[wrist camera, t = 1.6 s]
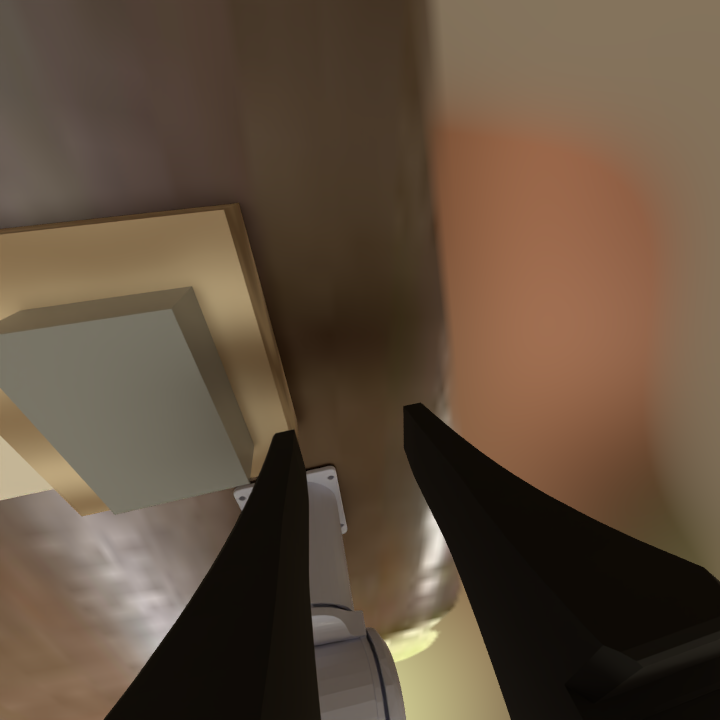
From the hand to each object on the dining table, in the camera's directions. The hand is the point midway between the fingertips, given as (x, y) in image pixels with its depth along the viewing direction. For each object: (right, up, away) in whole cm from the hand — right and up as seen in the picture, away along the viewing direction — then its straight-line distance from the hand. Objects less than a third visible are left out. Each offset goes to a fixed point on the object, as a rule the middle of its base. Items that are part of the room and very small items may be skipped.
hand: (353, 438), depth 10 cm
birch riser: (-11, +3, +7) cm, 13 cm away
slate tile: (-9, +1, +3) cm, 10 cm away
